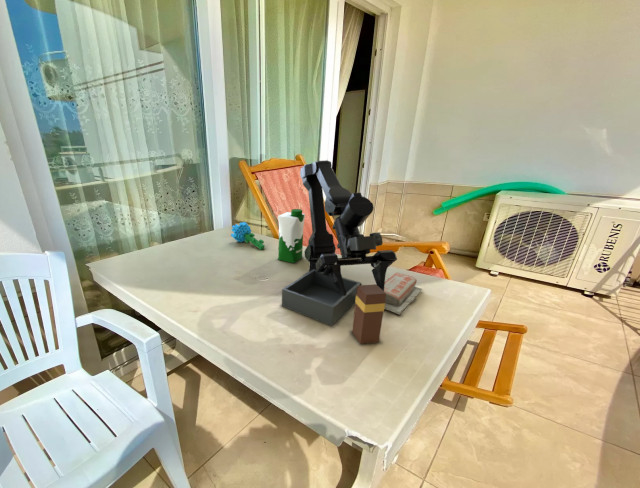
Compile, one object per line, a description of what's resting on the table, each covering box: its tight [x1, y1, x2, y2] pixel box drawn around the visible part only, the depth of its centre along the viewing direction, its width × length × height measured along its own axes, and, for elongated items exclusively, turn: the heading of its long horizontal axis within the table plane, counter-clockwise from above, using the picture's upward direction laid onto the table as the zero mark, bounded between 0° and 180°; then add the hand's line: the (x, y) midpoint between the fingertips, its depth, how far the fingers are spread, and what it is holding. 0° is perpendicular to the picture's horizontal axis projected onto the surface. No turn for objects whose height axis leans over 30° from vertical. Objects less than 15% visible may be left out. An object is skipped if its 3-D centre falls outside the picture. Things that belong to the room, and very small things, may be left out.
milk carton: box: [277, 208, 306, 264], centre depth 118 cm, size 9×9×20 cm
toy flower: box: [230, 221, 266, 250], centre depth 137 cm, size 9×9×18 cm
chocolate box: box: [351, 283, 386, 345], centre depth 71 cm, size 5×5×13 cm
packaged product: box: [384, 272, 423, 315], centre depth 89 cm, size 18×5×10 cm
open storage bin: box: [281, 269, 362, 327], centre depth 88 cm, size 18×16×6 cm
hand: (363, 294), depth 72 cm, fingers open, 9 cm apart
